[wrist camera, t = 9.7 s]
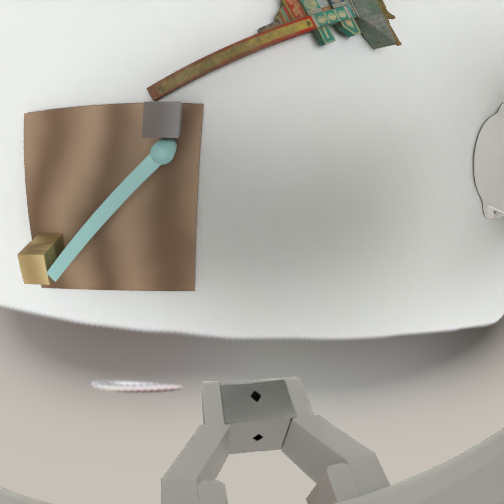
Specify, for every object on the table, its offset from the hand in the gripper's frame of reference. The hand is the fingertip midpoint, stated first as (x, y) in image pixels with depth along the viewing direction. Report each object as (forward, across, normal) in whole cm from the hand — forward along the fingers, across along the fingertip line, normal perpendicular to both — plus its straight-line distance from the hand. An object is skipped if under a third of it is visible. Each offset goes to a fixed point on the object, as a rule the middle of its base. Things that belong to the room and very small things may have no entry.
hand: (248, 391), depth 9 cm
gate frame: (+23, +10, +1) cm, 25 cm away
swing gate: (+22, +9, 0) cm, 24 cm away
